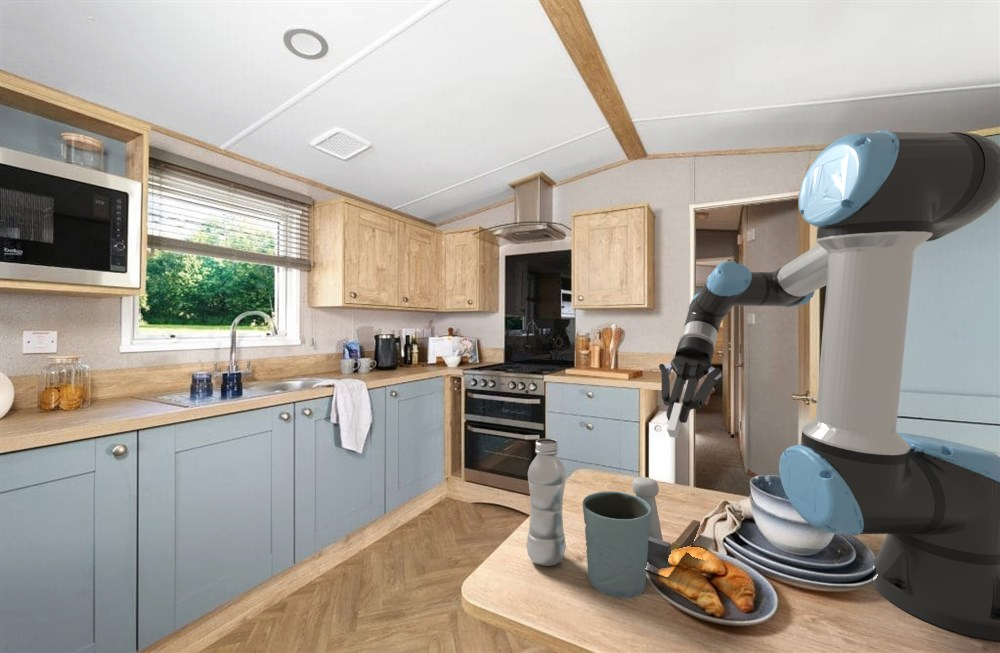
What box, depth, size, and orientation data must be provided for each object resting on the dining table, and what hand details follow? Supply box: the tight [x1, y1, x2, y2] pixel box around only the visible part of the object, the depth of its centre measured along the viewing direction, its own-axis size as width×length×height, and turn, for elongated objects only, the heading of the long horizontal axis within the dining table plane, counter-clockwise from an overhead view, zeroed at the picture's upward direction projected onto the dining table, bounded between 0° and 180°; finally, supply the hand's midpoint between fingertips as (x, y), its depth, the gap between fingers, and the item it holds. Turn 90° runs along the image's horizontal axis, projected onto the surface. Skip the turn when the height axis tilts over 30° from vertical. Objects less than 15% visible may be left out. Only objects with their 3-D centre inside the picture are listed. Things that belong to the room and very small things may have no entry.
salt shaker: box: [631, 476, 664, 541], centre depth 72 cm, size 6×6×13 cm
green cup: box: [582, 490, 651, 599], centre depth 65 cm, size 10×10×12 cm
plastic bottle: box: [526, 438, 567, 567], centre depth 70 cm, size 6×7×20 cm
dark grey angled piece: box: [647, 519, 701, 569], centre depth 76 cm, size 11×18×5 cm, turn 140°
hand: (672, 433), depth 83 cm, fingers closed
